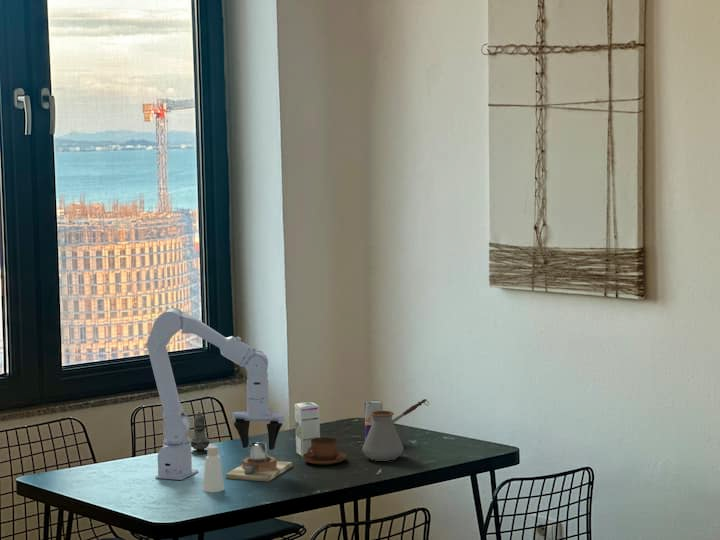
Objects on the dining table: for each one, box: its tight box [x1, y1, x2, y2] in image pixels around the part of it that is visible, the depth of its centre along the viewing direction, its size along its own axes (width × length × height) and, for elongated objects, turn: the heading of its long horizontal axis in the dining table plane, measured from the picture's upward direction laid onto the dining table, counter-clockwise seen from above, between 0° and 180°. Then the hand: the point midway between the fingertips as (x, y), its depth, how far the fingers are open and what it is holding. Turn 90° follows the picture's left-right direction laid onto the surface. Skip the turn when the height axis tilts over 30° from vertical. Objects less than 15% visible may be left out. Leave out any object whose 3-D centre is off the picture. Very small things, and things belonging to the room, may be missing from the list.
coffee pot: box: [362, 398, 430, 461], centre depth 317 cm, size 21×12×15 cm, turn 123°
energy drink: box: [364, 399, 384, 441], centre depth 335 cm, size 5×5×12 cm
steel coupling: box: [249, 441, 268, 463], centre depth 301 cm, size 4×4×7 cm
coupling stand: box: [225, 454, 293, 482], centre depth 302 cm, size 16×12×3 cm
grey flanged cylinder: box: [191, 411, 211, 456], centre depth 325 cm, size 6×6×12 cm
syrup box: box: [294, 401, 321, 458], centre depth 320 cm, size 6×6×14 cm
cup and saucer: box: [302, 436, 347, 466], centre depth 312 cm, size 12×12×6 cm
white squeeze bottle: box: [202, 445, 225, 494], centre depth 285 cm, size 5×5×11 cm
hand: (258, 448), depth 302 cm, fingers open, 7 cm apart
